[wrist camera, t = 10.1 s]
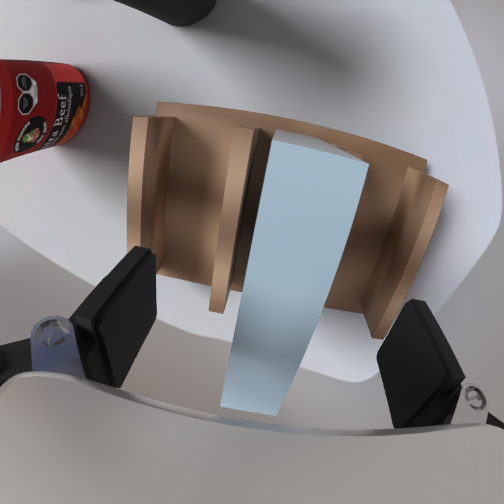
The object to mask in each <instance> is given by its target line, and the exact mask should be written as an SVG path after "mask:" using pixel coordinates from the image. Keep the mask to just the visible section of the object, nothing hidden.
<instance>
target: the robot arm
mask: <svg viewBox="0 0 504 504" xmlns="http://www.w3.org/2000/svg"><path fill="white" fill-rule="evenodd" d="M156 315H157V304H156V255H155V254H154V253H152V251H151V249H150V248H145V247H140V246H134V247H133V248H132V249H131V250H130V251H129V252H128V253H127V255H126V256H125V257H124V258H123V259H122V260H121V261H120V262H119V263H118V264H117V265H116V266H115V268H114V269H113V270H112V271H111V272H110V273H109V274H108V275H107V276H106V277H105V278H103V279H102V281H101V282H100V283H99V284H98V285H97V286H96V287H95V289H94V290H93V291H92V292H91V293H90V294H89V295H88V297H87V298H86V299H85V300H84V301H83V303H82V304H81V305H80V306H79V307H78V309H77V310H76V311H75V312H74V313H73V315H72V316H71V317H70V318H69V319H66V318H64V317H60V316H49V317H46V318H43V319H42V320H40V321H39V322H37V324H35V325H34V327H33V329H32V331H31V338H29V339H25V340H21V341H17V342H13V343H9V344H5V345H1V346H0V504H504V423H502V422H501V421H500V420H498V419H497V418H496V417H494V416H493V415H492V414H490V413H489V412H488V409H489V399H488V397H487V395H486V393H485V391H484V390H483V389H482V388H481V387H479V386H478V385H476V384H473V383H467V384H465V385H464V386H463V387H462V386H461V382H462V381H463V380H464V379H465V375H464V373H463V372H462V369H461V367H460V365H459V363H458V361H457V359H456V357H455V355H454V353H453V351H452V349H451V347H450V345H449V343H448V341H447V339H446V338H445V336H444V334H443V332H442V330H441V328H440V326H439V325H438V323H437V321H436V319H435V317H434V316H433V314H432V312H431V310H430V309H429V307H428V305H427V303H426V302H425V301H421V300H415V299H411V300H410V301H409V302H406V303H405V305H404V306H403V308H402V310H401V312H400V314H399V316H398V318H397V319H396V321H395V323H394V325H393V327H392V328H391V330H390V332H389V334H388V335H387V337H386V339H385V341H384V342H383V344H382V346H381V347H380V349H379V351H378V353H377V363H378V366H379V370H380V373H381V377H382V381H383V385H384V389H385V393H386V397H387V401H388V405H389V410H390V414H391V418H392V423H393V427H394V428H395V429H373V430H350V429H349V430H348V429H321V428H306V427H293V426H284V425H275V424H268V423H260V422H253V421H247V420H241V419H234V418H229V417H224V416H218V415H214V414H209V413H204V412H199V411H195V410H191V409H187V408H183V407H179V406H175V405H171V404H168V403H164V402H160V401H156V400H152V399H149V398H146V397H142V396H139V395H136V394H133V393H129V392H126V391H123V390H120V389H117V388H120V387H121V386H122V384H123V382H124V380H125V378H126V376H127V374H128V372H129V370H130V368H131V366H132V364H133V362H134V359H135V358H136V356H137V354H138V352H139V350H140V348H141V346H142V344H143V343H144V341H145V339H146V337H147V335H148V333H149V331H150V329H151V327H152V325H153V323H154V321H155V319H156Z"/></svg>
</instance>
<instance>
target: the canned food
mask: <svg viewBox="0 0 504 504" xmlns="http://www.w3.org/2000/svg"><path fill="white" fill-rule="evenodd" d="M88 107H89V89H88V85H87V82H86V79H85V77H84V76H83V75H82V73H81V72H80V71H79V70H77V69H76V68H75V67H73V66H71V65H69V64H63V63H54V62H43V61H30V60H1V59H0V163H1V162H3V161H6V160H9V159H12V158H15V157H19V156H22V155H25V154H28V153H32V152H35V151H38V150H42V149H46V148H49V147H53V146H57V145H61V144H63V143H65V142H67V141H68V140H69V139H70V138H72V137H73V136H74V135H75V134H76V133H77V132H78V131H79V129H80V128H81V126H82V124H83V123H84V120H85V118H86V115H87V111H88Z"/></svg>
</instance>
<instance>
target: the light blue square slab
mask: <svg viewBox="0 0 504 504" xmlns="http://www.w3.org/2000/svg"><path fill="white" fill-rule="evenodd" d="M368 167H369V164H368V163H366V162H364V161H362V160H361V159H359V158H357V157H355V156H353V155H351V154H349V153H347V152H345V151H343V150H341V149H339V148H337V147H335V146H333V145H331V144H329V143H327V142H325V141H322V140H320V139H318V138H315V137H311V136H307V135H302V134H298V133H293V132H289V131H284V130H279V129H276V131H275V134H274V136H273V139H272V143H271V148H270V153H269V158H268V163H267V168H266V174H265V179H264V184H263V189H262V194H261V199H260V204H259V209H258V214H257V219H256V224H255V230H254V235H253V240H252V245H251V250H250V255H249V260H248V265H247V270H246V276H245V281H244V286H243V291H242V296H241V301H240V306H239V311H238V317H237V322H236V327H235V332H234V337H233V342H232V348H231V353H230V358H229V363H228V368H227V374H226V379H225V384H224V389H223V394H222V399H221V404H220V406H222V407H227V408H232V409H238V410H243V411H249V412H255V413H262V414H269V415H276V414H277V412H278V410H279V408H280V406H281V404H282V402H283V400H284V398H285V396H286V393H287V392H288V389H289V387H290V385H291V383H292V381H293V378H294V376H295V374H296V372H297V370H298V367H299V365H300V363H301V360H302V358H303V356H304V353H305V351H306V349H307V346H308V344H309V342H310V339H311V337H312V334H313V332H314V329H315V327H316V324H317V322H318V319H319V317H320V314H321V312H322V309H323V307H324V304H325V301H326V299H327V296H328V293H329V291H330V288H331V285H332V282H333V280H334V277H335V274H336V271H337V268H338V265H339V263H340V260H341V257H342V254H343V251H344V248H345V245H346V242H347V239H348V235H349V232H350V229H351V226H352V223H353V219H354V216H355V213H356V210H357V206H358V203H359V199H360V196H361V192H362V189H363V185H364V182H365V178H366V174H367V170H368Z"/></svg>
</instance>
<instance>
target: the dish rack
mask: <svg viewBox="0 0 504 504" xmlns="http://www.w3.org/2000/svg"><path fill="white" fill-rule="evenodd" d="M276 129H279V130H284V131H289V132H293V133H298V134H302V135H307V136H311V137H315V138H318V139H320V140H322V141H325V142H327V143H329V144H331V145H333V146H335V147H337V148H339V149H341V150H343V151H345V152H347V153H349V154H351V155H353V156H355V157H357V158H359V159H361V160H362V161H364V162H366V163H368V164H369V167H368V170H367V174H366V178H365V182H364V185H363V189H362V192H361V196H360V199H359V203H358V206H357V210H356V213H355V216H354V219H353V223H352V226H351V229H350V232H349V235H348V239H347V242H346V245H345V248H344V251H343V254H342V257H341V260H340V263H339V265H338V268H337V271H336V274H335V277H334V280H333V282H332V285H331V288H330V291H329V293H328V296H327V299H326V301H325V304H324V307H326V308H332V309H338V310H344V311H350V312H357V313H363V314H364V316H365V319H366V322H367V325H368V328H369V330H370V333H371V336H372V338H376V339H384V337H385V335H386V334H387V332H388V330H389V328H390V326H391V324H392V323H393V321H394V319H395V317H396V315H397V313H398V311H399V309H400V307H401V305H402V303H403V301H404V299H405V297H406V295H407V293H408V291H409V288H410V286H411V284H412V282H413V280H414V278H415V275H416V273H417V271H418V268H419V266H420V264H421V261H422V259H423V257H424V254H425V252H426V249H427V247H428V244H429V242H430V239H431V236H432V234H433V231H434V228H435V226H436V223H437V220H438V217H439V214H440V211H441V208H442V205H443V202H444V199H445V196H446V193H447V189H448V186H449V185H448V184H446V183H444V182H442V181H440V180H438V179H436V178H434V177H432V176H429V175H427V174H425V173H424V171H425V167H426V163H427V160H426V159H423V158H421V157H418V156H415V155H413V154H410V153H407V152H405V151H402V150H399V149H396V148H393V147H390V146H388V145H385V144H381V143H378V142H375V141H372V140H369V139H366V138H362V137H359V136H356V135H352V134H349V133H345V132H342V131H338V130H334V129H330V128H326V127H323V126H318V125H314V124H310V123H306V122H301V121H297V120H292V119H287V118H282V117H277V116H272V115H266V114H261V113H255V112H249V111H242V110H235V109H228V108H220V107H212V106H203V105H193V104H180V103H165V102H158V104H157V111H156V116H137V117H133V123H132V132H131V143H130V155H129V170H128V192H127V253H128V252H129V251H130V250H131V249H132V248H133V247H134V246H140V247H145V248H150V249H151V251H152V253H154V254H155V255H156V274H160V275H164V276H168V277H173V278H177V279H182V280H186V281H191V282H195V283H200V284H205V285H209V286H212V288H211V296H210V305H209V311H212V312H217V313H222V314H223V312H224V309H225V305H226V302H227V298H228V295H229V291H230V290H233V291H238V292H242V291H243V286H244V281H245V276H246V270H247V265H248V260H249V255H250V250H251V245H252V240H253V235H254V230H255V224H256V219H257V214H258V209H259V204H260V199H261V194H262V189H263V184H264V179H265V174H266V168H267V163H268V158H269V153H270V148H271V143H272V139H273V136H274V134H275V131H276Z"/></svg>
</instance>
